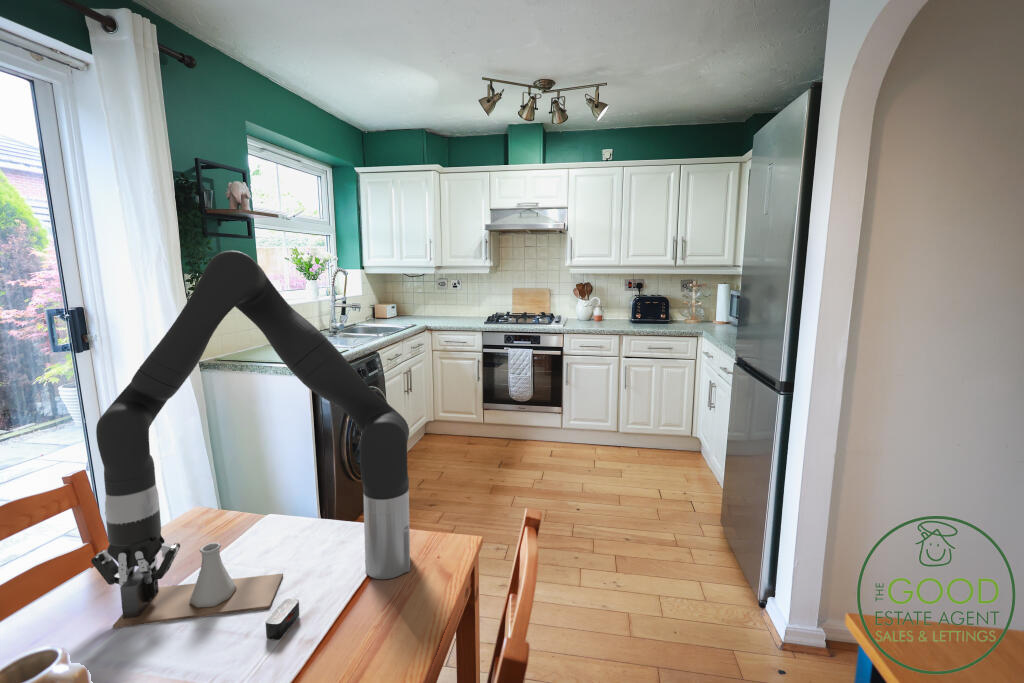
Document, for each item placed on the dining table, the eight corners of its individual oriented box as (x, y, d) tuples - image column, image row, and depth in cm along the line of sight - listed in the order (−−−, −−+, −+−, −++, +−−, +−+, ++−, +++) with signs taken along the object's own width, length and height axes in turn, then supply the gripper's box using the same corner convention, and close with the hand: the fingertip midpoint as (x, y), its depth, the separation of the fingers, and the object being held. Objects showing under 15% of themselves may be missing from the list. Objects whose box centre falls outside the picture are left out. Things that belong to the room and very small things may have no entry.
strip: (283, 575, 97) (281, 546, 96) (269, 608, 87) (267, 575, 86) (144, 591, 91) (141, 560, 90) (113, 628, 81) (109, 593, 81)
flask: (214, 611, 85) (210, 560, 84) (180, 606, 86) (176, 555, 85) (244, 587, 92) (241, 539, 91) (213, 581, 93) (209, 534, 92)
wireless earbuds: (303, 613, 86) (302, 596, 86) (280, 642, 79) (279, 624, 79) (279, 610, 87) (279, 594, 86) (254, 639, 80) (253, 622, 79)
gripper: (186, 498, 90) (192, 583, 92) (101, 505, 86) (109, 592, 89) (167, 517, 82) (174, 608, 84) (73, 525, 79) (83, 619, 81)
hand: (141, 599), depth 86 cm, fingers closed on strip, 2 cm apart
